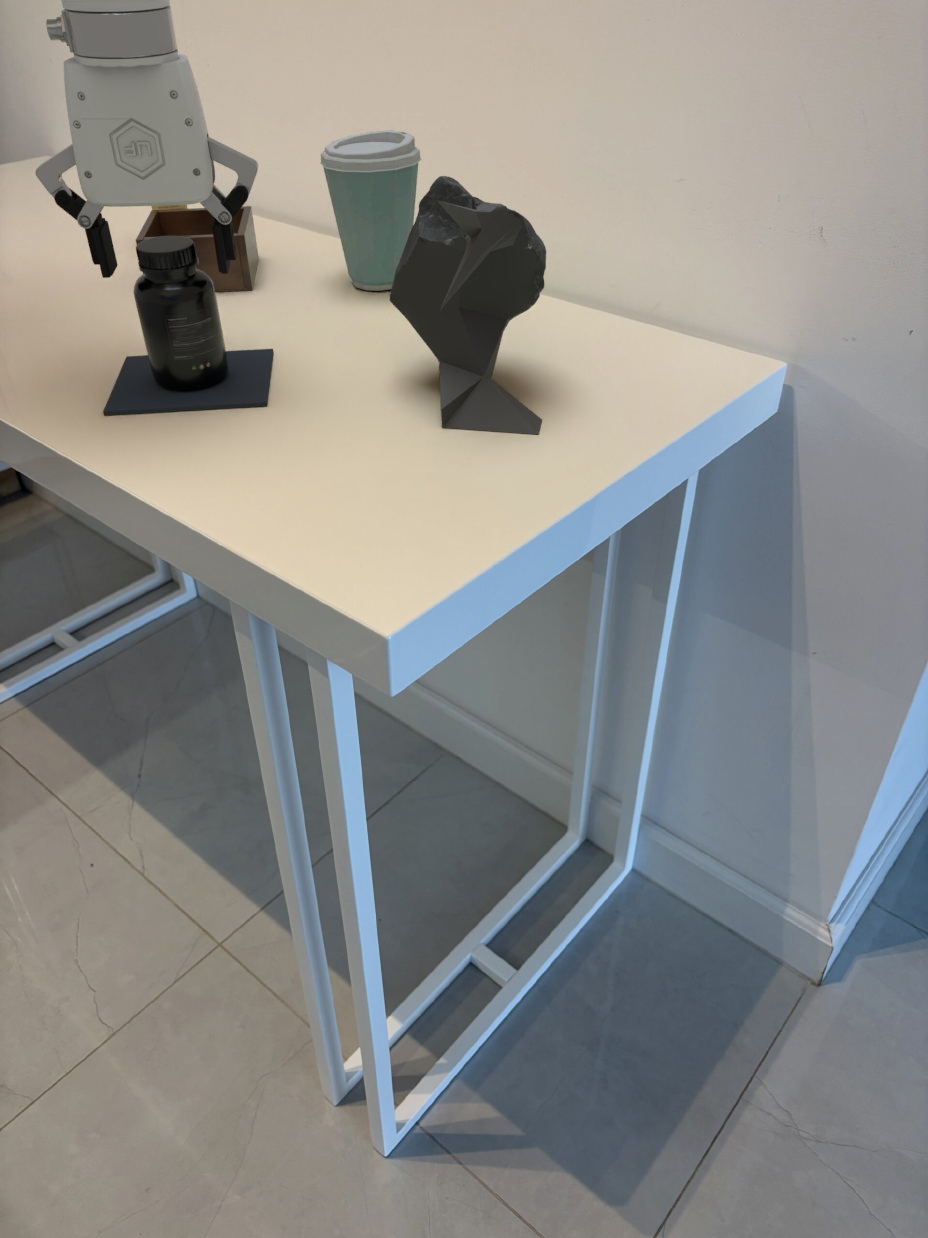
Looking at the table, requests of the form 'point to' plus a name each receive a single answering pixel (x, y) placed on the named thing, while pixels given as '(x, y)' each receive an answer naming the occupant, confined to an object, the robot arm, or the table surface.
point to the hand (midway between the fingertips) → (168, 270)
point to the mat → (234, 391)
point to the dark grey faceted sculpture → (469, 299)
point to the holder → (210, 242)
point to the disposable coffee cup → (373, 201)
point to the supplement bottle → (179, 315)
